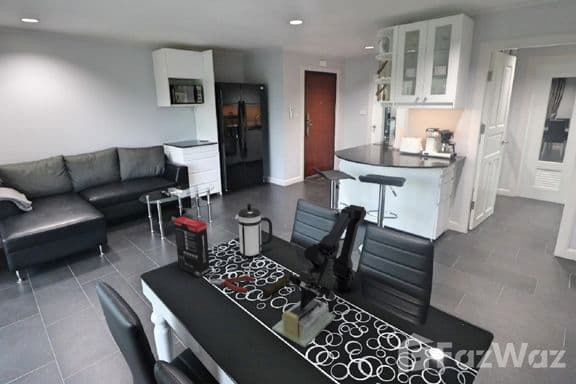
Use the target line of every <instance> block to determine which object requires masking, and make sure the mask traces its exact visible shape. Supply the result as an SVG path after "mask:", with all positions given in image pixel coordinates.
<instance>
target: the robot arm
mask: <svg viewBox="0 0 576 384" xmlns="http://www.w3.org/2000/svg"><path fill="white" fill-rule="evenodd" d="M366 216H367V209H366V207H365V206H361V205H356V204H350V205H348V206H344V208H341V211H340V214H339V216H338V218H337V219H336V221H335V223H334V224H333V227H332V229H330V231H329V233H328V234H326V235H325V236H323V237H322V239H321V240H320V241H319V242H318V243H317V244H316V243H313V244H312V246H311V245H310V246H309V247H307V248H306V249H305V250H304V254H303V255H304V258H305V259H306V260H307V261H308V262H309V263H310V264H311V267H308V269H307V270H300V271H299V274H298V275H295V274H293V273H292V274H291V275H290V276H289V277H288V279H287V280H289V281H290V283H291V284H292V285H294V286H296V287H298V288H299V290H300V300H301V301H300V300H299V301H300V308H302V309H303V308H304V307H305V306H306V305H308V304H309V303H310V302H311V301H312V300H314V299H317V298H319V297H320V294H321V295H323V296H324V297H325V299H327V300H330V301H334V299H335V297H336V296H335V292H334V291H332V289H330V288H328V287H325V286H321V283H322V282H323V280H325V279H326V277H325V275H326V272H327V269H328V267H329V266H331V265H332V266H331V268H332V270H331V271H332V275H333V276H335V277H336V279H335V283H334V285H333V286H334V288H335V289H336V290H337V291H338V293H340V294H344V293H348V292H352V291H354V289H353V288H352V281H354V280H355V278H356V271H355V270H354V269H353V268H354V264H353V260H352V255H353V252H354V251H353V250H354V246H355V243H356V242H355V241H356V237H357V234H358V229H359V226H361V225H362V224H363V222H364V220H365V218H366ZM344 233H345V234H344ZM343 235H344V238H343V241H342V242H343V243H342V246H341V245H340V240H341V238H342V237H343ZM340 246H341V249H340ZM339 249H340V254H339V256H338V257H335V256H337V254H338V252H339ZM333 257H335V258H334V261H333V264H332V261H331V258H333Z"/></svg>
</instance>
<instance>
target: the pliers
mask: <svg viewBox="0 0 576 384" xmlns="http://www.w3.org/2000/svg"><path fill="white" fill-rule="evenodd" d="M245 281H246V282H254V277H252V276H246V275H244V276H235V277H230V278H229V277H226V278H225V279H223V278H211V279H210V281H208V283H209V284H214V285H220V286H221V285H222V288H225V287H226V286H227V287H226V288H229V289H230V290H232V291H233V292H237V293H244V294H247V292H248V288H247V287H241V286H237V285H235V284H234V283H238V282H245ZM230 282H232V283H230Z"/></svg>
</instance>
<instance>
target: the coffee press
mask: <svg viewBox="0 0 576 384" xmlns="http://www.w3.org/2000/svg"><path fill="white" fill-rule="evenodd" d="M261 216H262V211H261V209H260V208H258V206H252V204H251V203H250V202H249V203H247V205H246V206H243V207H241V208H239V210H238V212H237V213H236V215H235V218H234V219H235V220H237V221H238V222H237V223H238V235H239V239H238V240H239V253H240V254H241V255H242V257H241V259H242V260H245V259H246V258H247V256H248V257H252V256H256V255H257V256H258V257H259V258H261V257H263V253H262V252H261V251H262V246H265V245H269V244H270V243H271V242H272V240H273V223H272V220H271V219H270V218H268V217H266V216H264V217H261ZM262 222H267V223H268V239H267V240H265V241H262V226H261V225H262V224H261V223H262ZM260 256H261V257H260ZM244 258H245V259H244Z"/></svg>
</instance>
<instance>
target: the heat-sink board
mask: <svg viewBox="0 0 576 384" xmlns="http://www.w3.org/2000/svg"><path fill="white" fill-rule="evenodd" d="M314 300H316V301H318V302H319V304H318V305H316V306H315V307H313V308H312V309H310V310H309V311H307V312H306V313H305V314H303V315H302V316H300V317H298V316H297V315H295V314H293V313H291V312H289V311H291V310H293V309H294V308H296V307H297V306H299V305H300V301H301V299H300V300H299V301H298V302H296V303H295V304H293V306H292V307H290V308H289V309H288V310H285V311H284V312H283V313H282V315H281V320H280V321H278V322H277V323H276V324H275V325H273V326H272V327H271V329H272V330H273V331H274V332H276V333H278V334H280V335H281V336H283V337H285V338H287V339H288V340H289V341H292V342H294V343H295V344H297V345H299V346H301V347H303V348H304V349H305V348H306V347H308V345H310V344H311V342H312V341H313V340H314V339H315V338H317V336H318V335H319V334H320V333H322V331H323V330H325V329H326V328H327V326H328V325H329V324H331V322H332V321H333V320H334V319H335V318H336V314H334V313H331V312H329V311H330V310H329V304H328V303H325V302H324V301H321V300H319V299H317V298H315V299H314Z"/></svg>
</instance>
